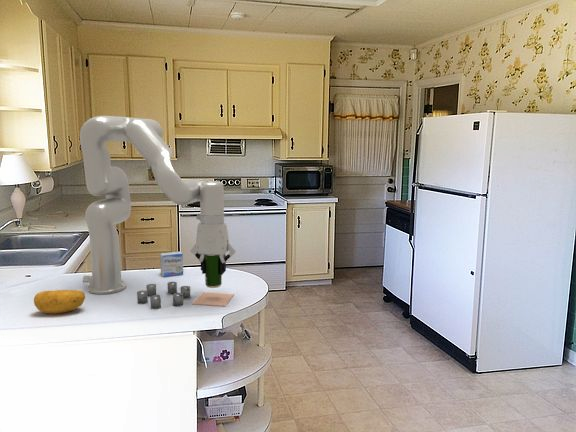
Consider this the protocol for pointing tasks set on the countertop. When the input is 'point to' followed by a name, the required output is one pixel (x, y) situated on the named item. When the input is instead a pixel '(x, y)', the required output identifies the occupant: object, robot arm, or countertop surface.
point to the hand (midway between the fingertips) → (213, 272)
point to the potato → (58, 301)
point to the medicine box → (171, 264)
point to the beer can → (212, 271)
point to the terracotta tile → (213, 299)
